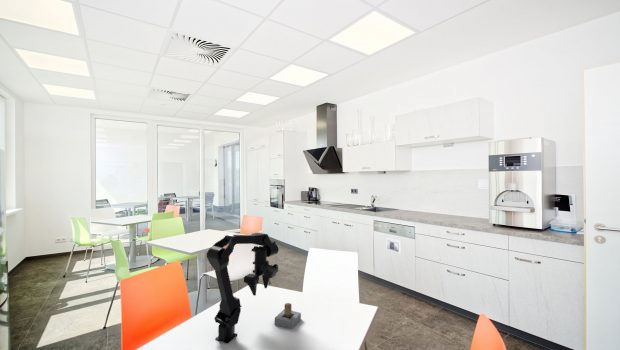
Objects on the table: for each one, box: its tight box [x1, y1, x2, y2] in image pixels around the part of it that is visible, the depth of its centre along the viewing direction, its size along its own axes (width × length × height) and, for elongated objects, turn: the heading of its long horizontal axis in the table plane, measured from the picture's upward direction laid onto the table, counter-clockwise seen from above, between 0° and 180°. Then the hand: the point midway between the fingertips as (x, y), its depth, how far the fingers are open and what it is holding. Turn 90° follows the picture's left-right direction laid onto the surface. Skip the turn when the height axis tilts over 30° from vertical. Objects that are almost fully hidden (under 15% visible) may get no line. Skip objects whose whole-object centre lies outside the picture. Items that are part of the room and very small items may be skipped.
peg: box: [284, 302, 292, 319], centre depth 127 cm, size 3×3×8 cm
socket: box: [274, 308, 302, 330], centre depth 127 cm, size 9×9×3 cm
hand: (260, 291), depth 132 cm, fingers open, 9 cm apart
